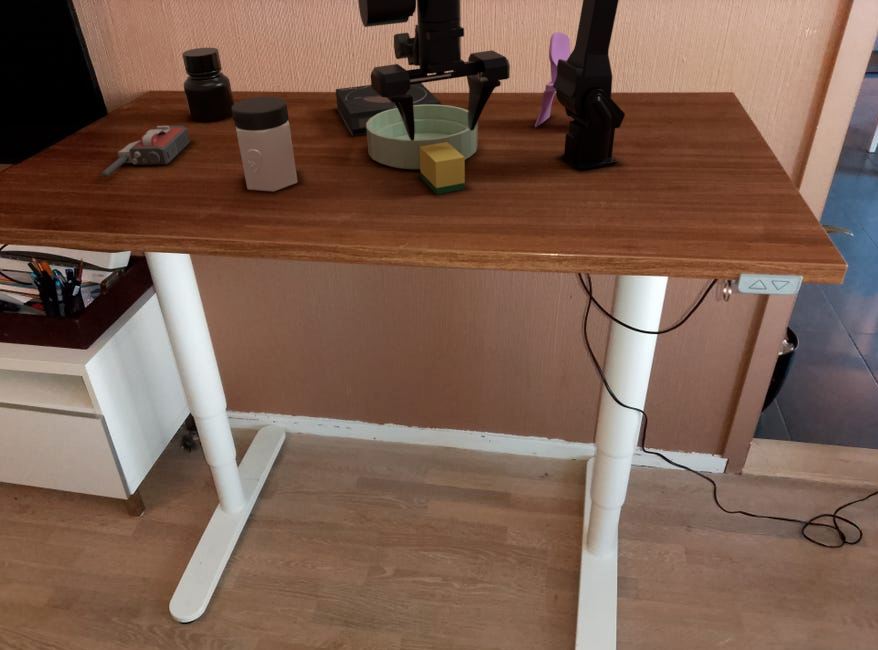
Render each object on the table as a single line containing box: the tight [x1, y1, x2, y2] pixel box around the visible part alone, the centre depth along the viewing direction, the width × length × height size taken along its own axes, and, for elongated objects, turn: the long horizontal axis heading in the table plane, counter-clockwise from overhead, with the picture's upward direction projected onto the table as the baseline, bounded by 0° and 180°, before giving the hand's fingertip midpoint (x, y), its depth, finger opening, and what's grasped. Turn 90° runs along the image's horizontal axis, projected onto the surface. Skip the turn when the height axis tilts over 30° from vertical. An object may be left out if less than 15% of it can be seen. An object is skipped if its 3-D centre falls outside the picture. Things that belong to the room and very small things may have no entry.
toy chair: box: [534, 31, 571, 128], centre depth 123 cm, size 8×9×15 cm
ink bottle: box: [181, 47, 235, 122], centre depth 140 cm, size 10×9×12 cm
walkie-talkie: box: [101, 125, 191, 178], centre depth 123 cm, size 9×4×20 cm
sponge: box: [419, 142, 466, 195], centre depth 108 cm, size 4×7×5 cm, turn 18°
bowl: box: [366, 104, 479, 170], centre depth 119 cm, size 18×18×5 cm
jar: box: [232, 96, 298, 193], centre depth 110 cm, size 9×8×12 cm
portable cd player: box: [335, 83, 442, 137], centre depth 135 cm, size 16×17×4 cm
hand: (441, 134), depth 105 cm, fingers open, 9 cm apart
